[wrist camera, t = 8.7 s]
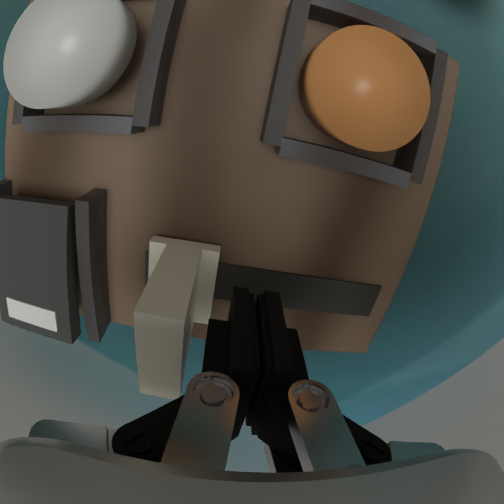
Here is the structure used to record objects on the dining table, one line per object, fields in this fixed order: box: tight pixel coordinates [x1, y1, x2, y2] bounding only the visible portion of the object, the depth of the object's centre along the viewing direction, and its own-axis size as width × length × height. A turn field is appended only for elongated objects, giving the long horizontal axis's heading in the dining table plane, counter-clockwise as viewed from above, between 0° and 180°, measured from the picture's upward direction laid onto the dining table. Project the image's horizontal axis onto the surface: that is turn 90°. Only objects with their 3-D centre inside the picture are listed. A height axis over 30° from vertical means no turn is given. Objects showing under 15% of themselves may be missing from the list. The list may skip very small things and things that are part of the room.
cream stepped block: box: [134, 235, 221, 399], centre depth 11 cm, size 3×4×5 cm
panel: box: [0, 0, 460, 353], centre depth 12 cm, size 20×16×5 cm
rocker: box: [0, 194, 81, 344], centre depth 11 cm, size 4×6×1 cm
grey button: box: [3, 0, 137, 109], centre depth 6 cm, size 4×4×2 cm
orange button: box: [299, 25, 430, 152], centre depth 9 cm, size 4×4×2 cm
